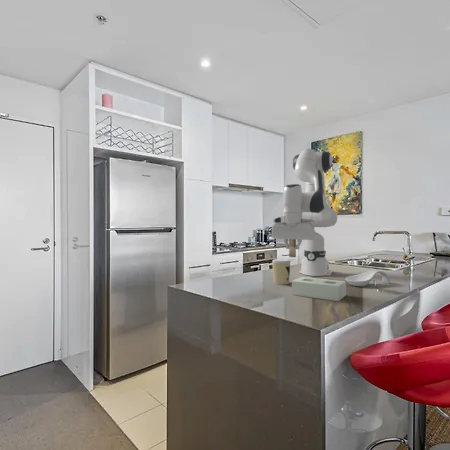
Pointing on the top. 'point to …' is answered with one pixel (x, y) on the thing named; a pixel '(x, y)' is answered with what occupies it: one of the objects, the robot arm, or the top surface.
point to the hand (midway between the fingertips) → (292, 249)
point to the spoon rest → (366, 278)
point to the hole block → (319, 288)
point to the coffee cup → (281, 271)
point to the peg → (292, 248)
